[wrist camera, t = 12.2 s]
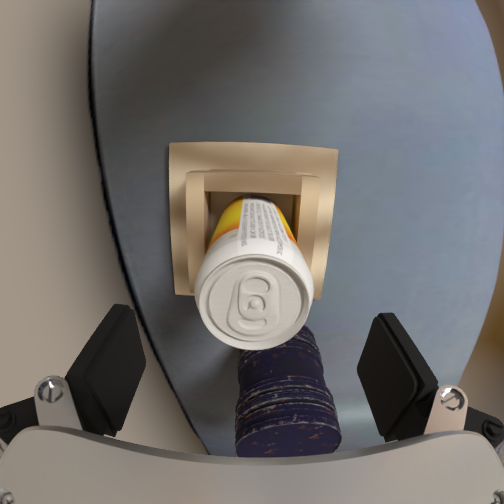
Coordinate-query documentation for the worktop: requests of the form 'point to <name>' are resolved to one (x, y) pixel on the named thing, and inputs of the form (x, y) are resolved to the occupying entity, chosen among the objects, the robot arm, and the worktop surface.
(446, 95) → the worktop surface
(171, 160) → the can holder
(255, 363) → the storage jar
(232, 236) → the beer can
